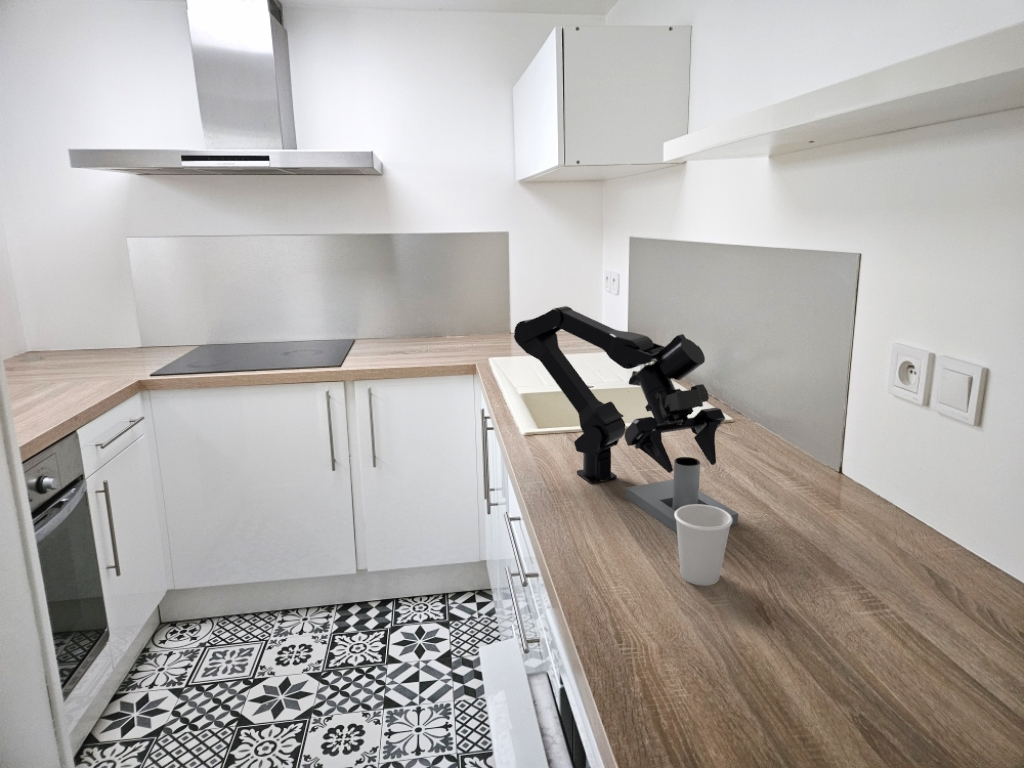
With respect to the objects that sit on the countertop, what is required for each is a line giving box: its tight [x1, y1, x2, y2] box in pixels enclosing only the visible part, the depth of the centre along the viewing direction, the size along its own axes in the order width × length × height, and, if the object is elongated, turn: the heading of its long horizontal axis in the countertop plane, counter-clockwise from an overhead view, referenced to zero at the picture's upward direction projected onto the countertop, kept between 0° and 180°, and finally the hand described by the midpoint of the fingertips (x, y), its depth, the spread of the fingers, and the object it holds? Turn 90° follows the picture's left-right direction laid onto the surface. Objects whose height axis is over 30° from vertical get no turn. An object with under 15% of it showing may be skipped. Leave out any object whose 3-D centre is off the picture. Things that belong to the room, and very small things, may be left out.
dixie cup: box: [674, 504, 733, 587], centre depth 103 cm, size 8×8×10 cm
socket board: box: [625, 478, 739, 534], centre depth 127 cm, size 18×12×2 cm, turn 22°
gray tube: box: [672, 456, 701, 511], centre depth 124 cm, size 4×4×10 cm
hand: (692, 467), depth 121 cm, fingers open, 9 cm apart
